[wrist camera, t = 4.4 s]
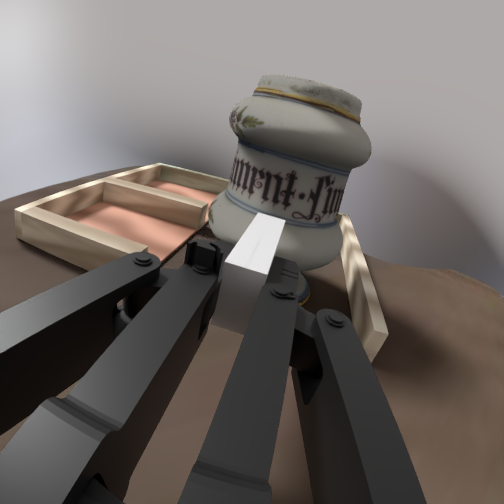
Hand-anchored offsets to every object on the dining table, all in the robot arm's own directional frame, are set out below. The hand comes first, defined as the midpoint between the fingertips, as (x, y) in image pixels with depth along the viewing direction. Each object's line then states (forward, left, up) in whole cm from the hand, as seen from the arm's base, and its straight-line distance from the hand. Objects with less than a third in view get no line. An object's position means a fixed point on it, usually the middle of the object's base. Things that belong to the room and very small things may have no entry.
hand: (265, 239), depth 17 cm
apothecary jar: (+7, -7, -8) cm, 13 cm away
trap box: (+18, -8, -8) cm, 21 cm away
